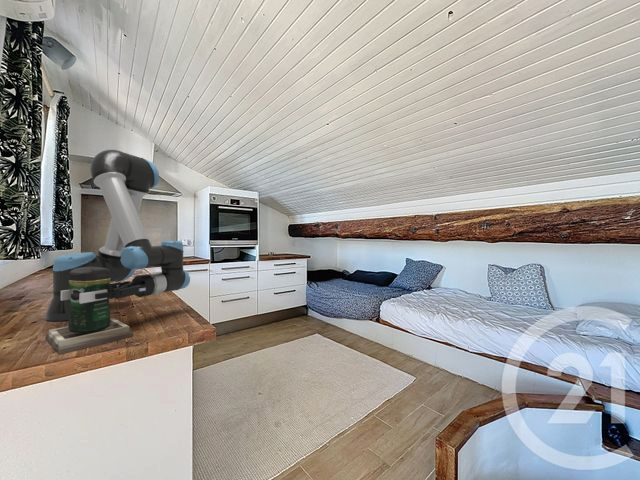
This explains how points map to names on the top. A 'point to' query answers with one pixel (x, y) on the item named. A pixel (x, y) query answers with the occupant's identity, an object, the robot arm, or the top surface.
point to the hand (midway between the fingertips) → (70, 297)
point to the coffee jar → (90, 313)
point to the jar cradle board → (87, 337)
